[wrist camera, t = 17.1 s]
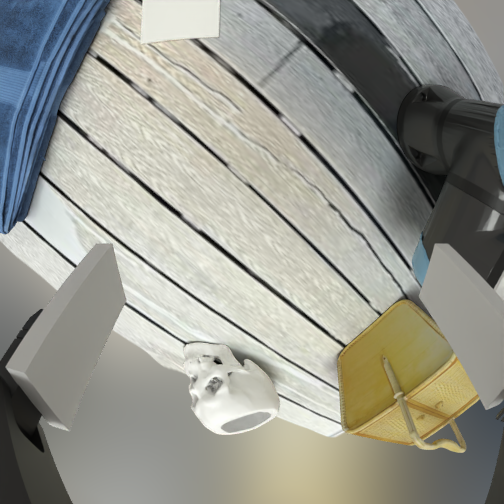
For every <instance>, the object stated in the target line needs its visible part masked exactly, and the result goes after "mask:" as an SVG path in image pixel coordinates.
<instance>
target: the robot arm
mask: <svg viewBox="0 0 504 504" xmlns="http://www.w3.org/2000/svg"><path fill="white" fill-rule="evenodd" d="M397 132H398V138H399V142H400V145H401V148H402V150H403V152H404V154H405V155H406V157H407V158H408V159H409V161H410V162H411V163H412V164H414V165H415V166H416V167H418V168H420V169H422V170H424V171H426V172H428V173H431V174H435V175H447V178H446V181H445V183H444V185H443V188H442V190H441V193H440V195H439V198H438V200H437V202H436V205H435V207H434V209H433V211H432V214H431V216H430V218H429V220H428V222H427V225H426V227H425V229H424V230H423V231H422V233H421V235H420V241H419V243H418V245H417V248H416V250H415V252H414V255H413V258H412V265H413V269H414V273H415V276H416V278H417V280H418V281H419V283H420V284H421V286H422V288H421V291H420V294H419V298H420V299H421V301H422V302H423V304H424V305H425V307H426V308H427V310H428V311H429V313H430V314H431V316H432V317H433V319H434V321H435V322H436V324H437V325H438V327H439V328H440V330H441V331H442V333H443V335H444V336H445V338H446V339H447V341H448V343H449V344H450V346H451V348H452V349H453V351H454V353H455V354H456V356H457V358H458V359H459V361H460V363H461V365H462V366H463V368H464V370H465V372H466V373H467V375H468V377H469V379H470V381H471V382H472V384H473V386H474V388H475V390H476V392H477V394H478V396H479V397H480V399H481V401H482V403H483V405H484V407H485V409H486V410H487V409H490V408H492V407H494V406H496V405H499V404H500V403H501V402H502V401H503V399H504V105H503V104H497V103H492V102H485V101H479V100H472V99H466V98H464V97H463V96H461V95H459V94H458V93H456V92H455V91H453V90H451V89H450V88H447V87H445V86H441V85H430V84H429V85H422V86H419V87H417V88H415V89H413V90H412V91H411V92H410V93H409V94H408V95H407V96H406V97H405V99H404V101H403V102H402V104H401V107H400V110H399V113H398V119H397ZM453 185H454V186H453ZM455 186H456V187H455ZM464 191H465V192H464ZM471 195H472V196H471ZM476 198H477V199H476ZM481 201H482V202H481ZM486 204H487V205H486ZM125 302H126V297H125V293H124V290H123V286H122V282H121V278H120V274H119V270H118V266H117V262H116V257H115V253H114V248H113V244H95V246H94V247H93V248H92V249H91V250H90V251H89V253H88V254H87V255H86V256H85V257H84V258H83V260H82V261H81V262H80V263H79V265H78V266H77V267H76V268H75V269H74V271H73V272H72V273H71V274H70V276H69V277H68V278H67V279H66V281H65V282H64V283H63V284H62V286H61V287H60V288H59V290H58V291H57V292H56V294H55V295H54V296H53V298H52V299H51V300H50V302H49V303H48V304H47V306H46V307H45V309H40V310H39V311H38V312H36V313H35V314H34V315H33V316H31V317H30V318H29V320H28V321H27V322H26V324H25V325H24V327H23V330H21V331H20V332H19V334H18V335H17V339H15V340H14V341H13V343H12V344H11V346H10V347H9V349H8V350H7V352H6V353H5V355H4V356H3V358H2V360H1V361H0V504H73V503H72V501H71V499H70V497H69V495H68V493H67V491H66V489H65V486H64V484H63V482H62V479H61V477H60V475H59V472H58V470H57V467H56V465H55V462H54V460H53V457H52V455H51V452H50V449H49V446H48V443H47V440H46V437H45V434H44V431H43V429H42V427H41V425H40V424H39V420H40V418H41V415H42V416H43V417H44V419H46V421H47V422H48V423H49V424H50V425H51V426H54V427H57V428H60V429H64V430H67V431H70V429H71V426H72V423H73V420H74V418H75V415H76V412H77V410H78V407H79V405H80V402H81V400H82V397H83V395H84V392H85V390H86V387H87V385H88V382H89V380H90V378H91V375H92V373H93V371H94V368H95V366H96V364H97V361H98V359H99V357H100V355H101V353H102V350H103V348H104V346H105V344H106V342H107V339H108V337H109V335H110V333H111V331H112V329H113V327H114V325H115V322H116V320H117V318H118V316H119V314H120V312H121V310H122V308H123V306H124V304H125ZM503 414H504V408H503V409H502V410H501V411H500V412H499V414H497V417H496V419H497V420H498V419H499V418H500V417H501V416H502V415H503ZM501 421H503V422H504V417H503V418H502V420H501ZM485 504H504V429H503V436H502V440H501V446H500V450H499V455H498V459H497V464H496V468H495V472H494V476H493V479H492V483H491V486H490V490H489V493H488V496H487V499H486V502H485Z"/></svg>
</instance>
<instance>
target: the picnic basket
mask: <svg viewBox="0 0 504 504" xmlns="http://www.w3.org/2000/svg"><path fill="white" fill-rule="evenodd" d="M337 370H338V382H339V395H340V410H341V426H342V429H343V431H345V432H346V433H350V434H354V435H358V436H362V437H367V438H372V439H377V440H382V441H387V442H393V443H398V444H404V445H417V446H418V447H419V448H421V449H425V450H434V449H436V448H439V447H443V448H447V449H448V450H451V451H454V452H459V453H462V452H465V450H466V444H465V441H464V439H463V437H462V435H461V434H460V431H459V429H458V427H457V425H456V423H455V421H454V419H455V418H456V417H458V416H459V415H460V414H462V413H463V412H464V411H466V410H467V409H468V408H469V407H470V406H472V405H473V404H474V403H476V402H477V401H478V400H479V399H480V397H479V396H478V394H477V392H476V390H475V388H474V386H473V384H472V382H471V381H470V379H469V377H468V375H467V373H466V372H465V370H464V368H463V366H462V365H461V363H460V361H459V359H458V358H457V356H456V354H455V353H454V351H453V349H452V348H451V346H450V344H449V343H448V341H447V339H446V338H445V336H444V335H443V333H442V331H441V330H440V328H439V327H438V325H437V324H436V322H435V321H434V320H433V319H432V318H430V317H429V316H428V315H427V314H426V313H425V312H424V311H423V310H421V309H420V308H419V307H418V306H417V305H416V304H415V303H414V302H412V301H410V300H401V301H399V302H396V303H395V304H394V305H392V306H391V307H390V308H389V309H388V310H387V311H386V312H384V313H383V314H382V315H381V316H380V317H379V318H378V319H377V320H376V321H375V322H373V323H372V324H371V325H370V326H369V327H368V328H367V329H366V330H364V331H363V332H362V333H361V334H360V335H359V336H358V337H356V338H355V339H354V340H353V341H352V342H351V343H349V344H348V345H347V346H346V347H345V348H344V349H343V351H342V352H341V354H340V356H339V358H338V362H337ZM448 423H450V425H451V427H452V429H453V431H454V433H455V435H456V437H457V439H458V441H459V443H460V446H461V448H460V447H459V446H458V445H457V443H455V442H453V441H452V440H448V439H439V440H436V441H434V442H433V443H432V444H429V443H425V442H424V441H423V440H425V439H426V438H428V437H429V436H431V435H432V434H434V433H435V432H437V431H438V430H440V429H441V428H443V427H444V426H445V425H446V424H448Z"/></svg>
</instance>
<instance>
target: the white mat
mask: <svg viewBox="0 0 504 504" xmlns="http://www.w3.org/2000/svg"><path fill="white" fill-rule="evenodd" d="M219 21H220V0H143V4H142V21H141V45H143V44H150V43H157V42H165V41H175V40H186V39H199V38H219Z"/></svg>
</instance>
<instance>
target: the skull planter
mask: <svg viewBox="0 0 504 504" xmlns="http://www.w3.org/2000/svg"><path fill="white" fill-rule="evenodd" d="M183 351H184V355H185V361H184V363H183V367H184V370H185V372H186V374H187V375H188V376H189V377H190V381H191V383H190V384H189V392H190V394H191V396H192V400H193V402H192V405H191V409H192V410H193V411H194V413H195V415H196V416H197V417H198V418H199V420H200V421H201V423H202V424H203V425H204V426H205V427H206V428H208V429H209V430H211V431H213V432H215V433H217V434H223V435H229V434H238V433H242V432H246V431H250V430H252V429H255V428H258V427H260V426H262V425H263V424H265V423H267V422H268V421H270V420H271V419H272V418H274V417H276V416H277V414H278V412H279V407H280V401H279V396H278V394H277V391H276V389H275V387H274V385H273V383H272V381H271V379H270V377H269V376H268V375H267V374H266V373H265V372H264V371H263V370H262V369H261V368H260V367H259V366H258V365H256V364H255V363H253V362H252V361H251V360H249V359H245V360H244V366H243V367H242V365H241V364H240V363H239V362H238V361H237V360H236V359H235V357H234V356H233V354H232V352H231V350H230V348H229V347H228V346H226V345H223V344H219V345H216V344H209V343H191V344H187V345H186V346H185V347H184V348H183ZM215 358H219V359H220V360H221V361H222V364H223V365H222V364H219V365H217V364H216V363H214V362H213V361H215ZM232 365H233V366H232ZM228 372H230V373H229V374H228ZM213 378H215V379H217V380H218V381H217V380H214V379H213ZM212 381H213V382H212ZM215 381H216V382H215Z"/></svg>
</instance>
